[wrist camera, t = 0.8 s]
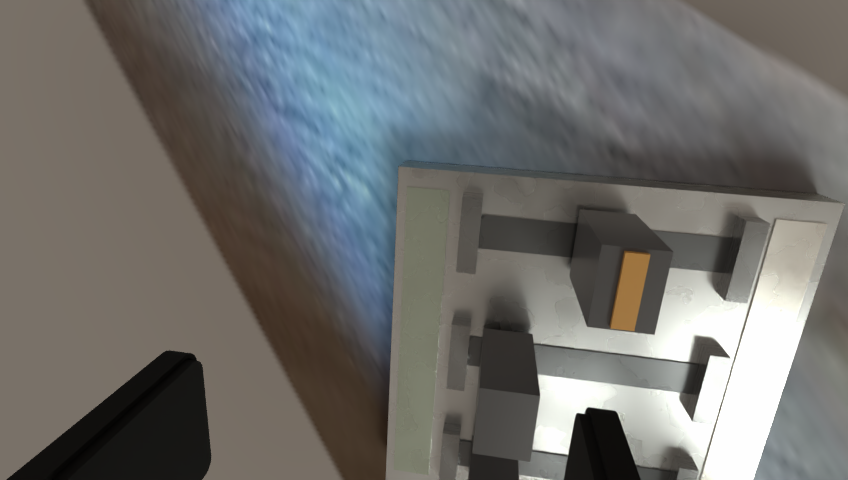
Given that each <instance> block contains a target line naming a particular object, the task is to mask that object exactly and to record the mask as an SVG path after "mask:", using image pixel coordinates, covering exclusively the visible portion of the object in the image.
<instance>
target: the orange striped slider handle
mask: <svg viewBox="0 0 848 480" xmlns="http://www.w3.org/2000/svg"><path fill="white" fill-rule="evenodd" d="M672 256H673V251H672V250H671V249H670V248H669V247H668V246H667V245H666V244H665V243H664V242H663V241H662V240H661V239H660V238H659V237H658V236H657V235H656V234H655V233H654V232H653V231H652V230H651V229H650V228H649V227H648V226H647V225H646V224H645V223H644V222H643V221H642V220H641V219H640V218H639V217H638V216H637V215H636V214H628V213H617V212H606V211H595V210H583V209H580V213H579V219H578V225H577V231H576V237H575V244H574V250H573V256H572V262H571V268H570V275H569V277H570V280H571V282H572V285H573V288H574V291H575V294H576V297H577V300H578V302H579V305H580V308H581V311H582V314H583V317H584V320H585V322H586V325H587V327H592V328H600V329H609V330H618V331H626V332H635V333H643V334H652V335H655V331H656V326H657V322H658V318H659V313H660V309H661V304H662V300H663V296H664V291H665V287H666V283H667V278H668V274H669V269H670V265H671V261H672Z"/></svg>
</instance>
